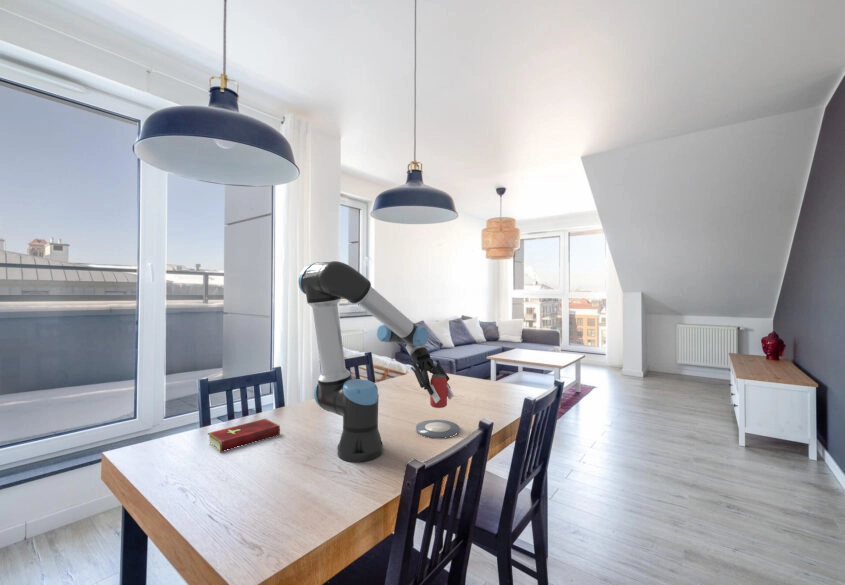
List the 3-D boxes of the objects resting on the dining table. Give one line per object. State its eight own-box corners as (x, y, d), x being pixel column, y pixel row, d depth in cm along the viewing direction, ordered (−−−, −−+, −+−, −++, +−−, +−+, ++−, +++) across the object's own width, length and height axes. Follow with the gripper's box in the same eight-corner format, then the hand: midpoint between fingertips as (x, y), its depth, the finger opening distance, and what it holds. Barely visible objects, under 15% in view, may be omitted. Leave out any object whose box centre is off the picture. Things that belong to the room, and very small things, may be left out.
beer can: (427, 404, 148) (427, 374, 148) (442, 402, 150) (442, 373, 150) (434, 409, 141) (434, 378, 141) (449, 407, 144) (449, 376, 144)
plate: (442, 442, 133) (442, 438, 133) (407, 431, 144) (407, 427, 144) (467, 429, 146) (467, 425, 146) (434, 419, 157) (434, 416, 157)
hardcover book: (280, 435, 140) (280, 424, 140) (220, 453, 124) (220, 441, 124) (265, 428, 148) (265, 417, 148) (207, 444, 132) (207, 432, 132)
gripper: (431, 354, 164) (457, 399, 151) (395, 360, 151) (421, 409, 139) (439, 344, 160) (467, 389, 147) (403, 348, 147) (430, 398, 135)
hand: (444, 399), depth 143 cm, fingers closed on beer can, 7 cm apart
